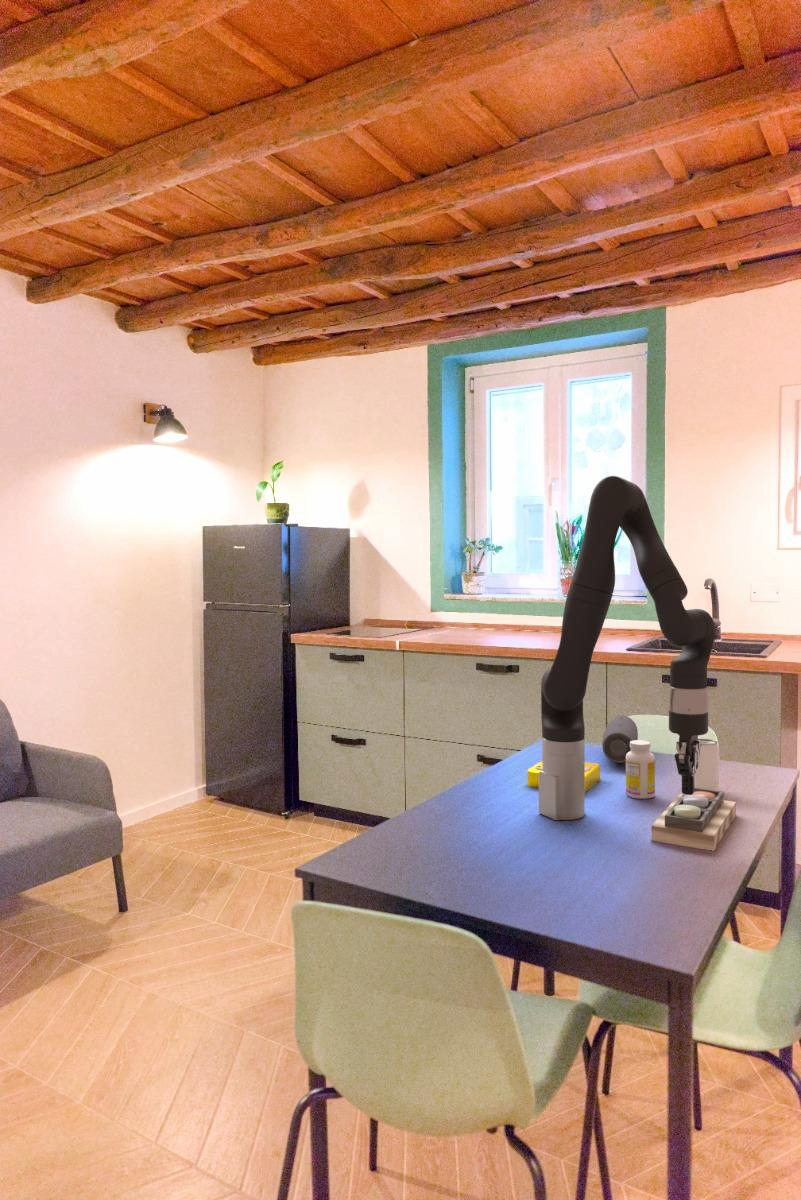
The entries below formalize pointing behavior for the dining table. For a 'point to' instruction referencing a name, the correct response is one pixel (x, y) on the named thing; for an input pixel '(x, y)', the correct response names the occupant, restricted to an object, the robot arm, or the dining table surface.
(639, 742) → the supplement bottle
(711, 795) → the button terracotta
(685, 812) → the button sage
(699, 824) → the button panel
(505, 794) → the dining table surface
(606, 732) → the bluetooth speaker
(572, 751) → the robot arm
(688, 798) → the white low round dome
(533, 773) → the element tile
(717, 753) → the can
